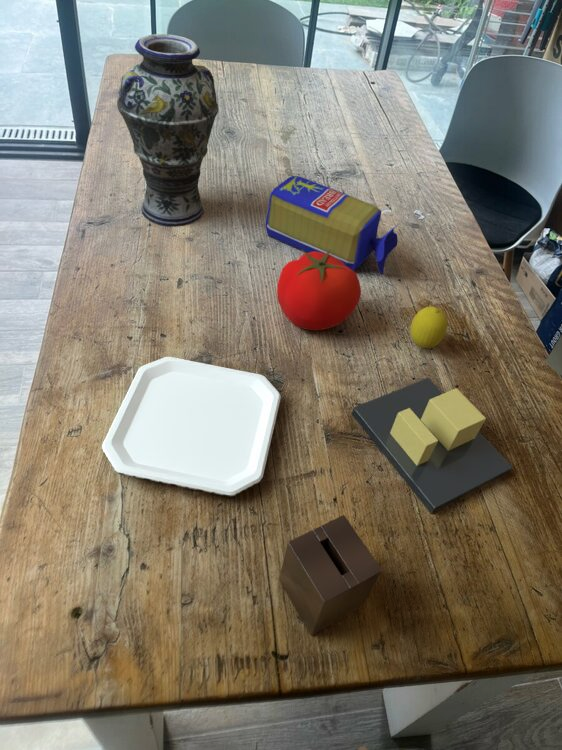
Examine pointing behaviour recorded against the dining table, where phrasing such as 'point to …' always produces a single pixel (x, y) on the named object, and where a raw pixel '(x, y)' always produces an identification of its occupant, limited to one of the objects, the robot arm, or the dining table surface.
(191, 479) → the plate
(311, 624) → the knife block
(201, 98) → the vase
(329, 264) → the tomato
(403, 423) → the butter slice
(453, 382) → the dining table surface
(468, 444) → the board
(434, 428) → the butter
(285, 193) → the bread
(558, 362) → the knife
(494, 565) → the dining table surface
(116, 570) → the dining table surface
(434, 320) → the lemon
